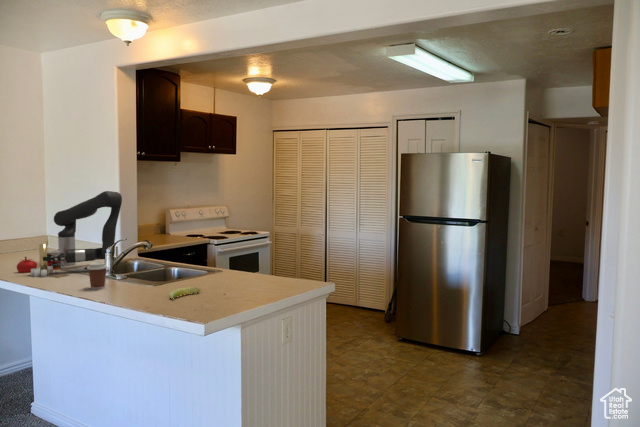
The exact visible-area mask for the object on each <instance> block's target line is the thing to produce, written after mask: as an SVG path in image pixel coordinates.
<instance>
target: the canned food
mask: <svg viewBox="0 0 640 427" xmlns="http://www.w3.org/2000/svg"><path fill="white" fill-rule="evenodd" d="M52 253H60V251H58V250H47V255H48V254H52ZM47 266H52V267H53V271H57V270H61V269H62V265H61V261H54V262H53V261H47Z"/></svg>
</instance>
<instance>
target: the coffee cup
mask: <svg viewBox="0 0 640 427" xmlns="http://www.w3.org/2000/svg"><path fill="white" fill-rule="evenodd" d="M86 269H87V270H88V276H89V284H90V285H89V286H90V289H92V290H98V289H104V288H105V287H106V272H107V270H106V269H108V266H107V265H106V263H105V262H103V261H96V262H95V261H94V262H90V263H89V265H88V266H87V267H86Z"/></svg>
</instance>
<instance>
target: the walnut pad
mask: <svg viewBox="0 0 640 427" xmlns="http://www.w3.org/2000/svg"><path fill="white" fill-rule="evenodd" d="M65 277H70V274H63V273H60V274H58V275H53V276H49V278H55V279H56V278H57V279H60V278H65Z"/></svg>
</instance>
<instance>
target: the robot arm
mask: <svg viewBox="0 0 640 427" xmlns="http://www.w3.org/2000/svg"><path fill="white" fill-rule="evenodd" d="M122 202H123V196H122V194H121V192H118V191H111V190H110V191H109V190H106V191H102V192H101V193H99V194H97V195H96V196H94V197H92V198H90V199H87V200H84V201H82V202H80V203H78V204H76V205H74V206H73V205H72V206H71V207H70V208H68V209H64V210H60V211H57V212H56V213H55V214H54V216H53V222H54V223H55V225H57V226H59V227H64V228H63V229H62V230H60V231H58V233H57V239H58V241H57V242H58V248H57V251H60V253H52V254H48V255H47V257H43V261H53V262H54V261H61V266H71V265H76V264H77V263H83V262H93V261H96V260H98V261H99V260H105V253H106V249H107V248H108V247H110V246H112V245H113V244H115V240H116V232H117V231H116V230H117V229H116V228H117V224H118V219H119V216H120V211H121V209H122V208H121V207H122ZM102 208H111V209H110V214H109V216H108V218H107V220H106V222H105V223H104V225H103V227H102V233H101V243H102V244H101V245H102V247H98V248H76V236H75V234H76V231H77V220H81V219H86V218H89V217H92V216H93V215H95V214H96V213H97V212H98V209H102ZM115 248H116V246H115V247H114V248H113V256H114V257H115V255H116V253H115V252H116V249H115Z"/></svg>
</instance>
